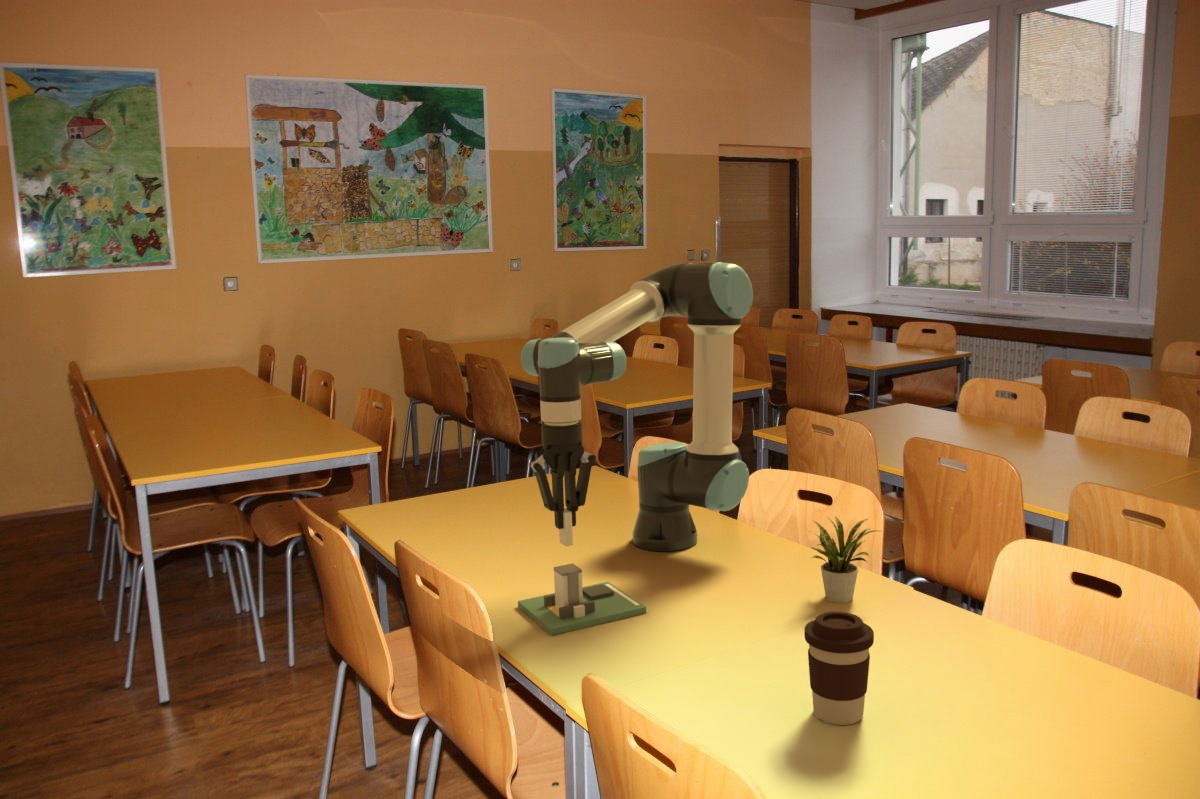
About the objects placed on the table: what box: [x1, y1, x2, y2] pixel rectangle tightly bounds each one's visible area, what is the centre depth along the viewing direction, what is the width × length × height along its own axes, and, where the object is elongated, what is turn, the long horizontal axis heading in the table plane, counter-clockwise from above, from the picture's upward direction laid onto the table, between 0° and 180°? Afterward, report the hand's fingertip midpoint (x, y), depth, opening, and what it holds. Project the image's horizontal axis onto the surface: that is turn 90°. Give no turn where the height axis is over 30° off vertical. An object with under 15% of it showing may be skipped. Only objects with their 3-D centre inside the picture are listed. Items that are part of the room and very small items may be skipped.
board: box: [517, 581, 647, 636], centre depth 189 cm, size 20×16×3 cm
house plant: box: [807, 515, 881, 604], centre depth 189 cm, size 14×14×16 cm
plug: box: [553, 562, 583, 609], centre depth 186 cm, size 4×4×8 cm
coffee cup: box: [803, 610, 875, 726], centre depth 144 cm, size 10×10×15 cm
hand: (566, 543), depth 184 cm, fingers closed
